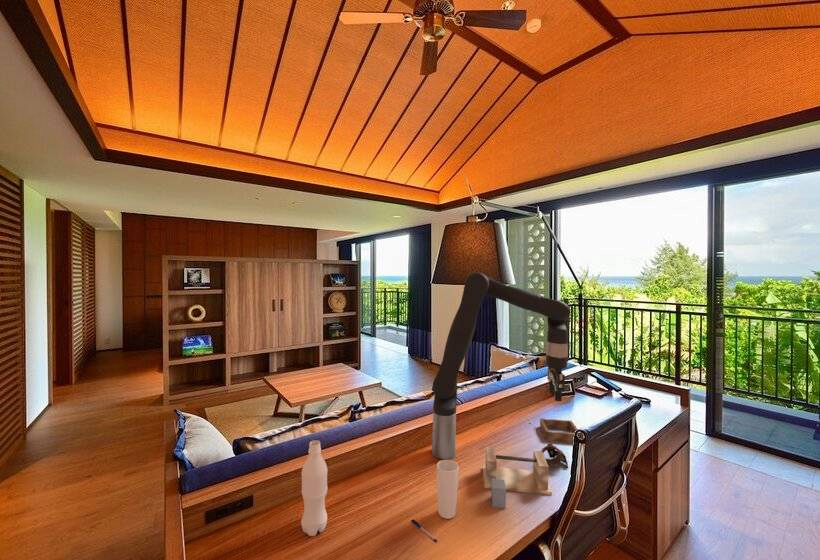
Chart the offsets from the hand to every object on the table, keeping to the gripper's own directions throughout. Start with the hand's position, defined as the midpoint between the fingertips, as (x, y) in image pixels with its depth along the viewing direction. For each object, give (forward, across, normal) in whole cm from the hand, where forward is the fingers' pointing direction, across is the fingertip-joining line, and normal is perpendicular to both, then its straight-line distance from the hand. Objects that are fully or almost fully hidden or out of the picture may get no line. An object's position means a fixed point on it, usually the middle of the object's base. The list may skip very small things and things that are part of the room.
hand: (554, 396), depth 132 cm
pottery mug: (+28, -3, +1) cm, 28 cm away
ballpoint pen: (+28, +40, -45) cm, 66 cm away
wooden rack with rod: (+27, +11, -15) cm, 33 cm away
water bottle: (+28, +44, -76) cm, 92 cm away
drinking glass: (+28, +32, -38) cm, 57 cm away
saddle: (+28, +24, -22) cm, 43 cm away
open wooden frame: (+27, -29, +10) cm, 41 cm away
